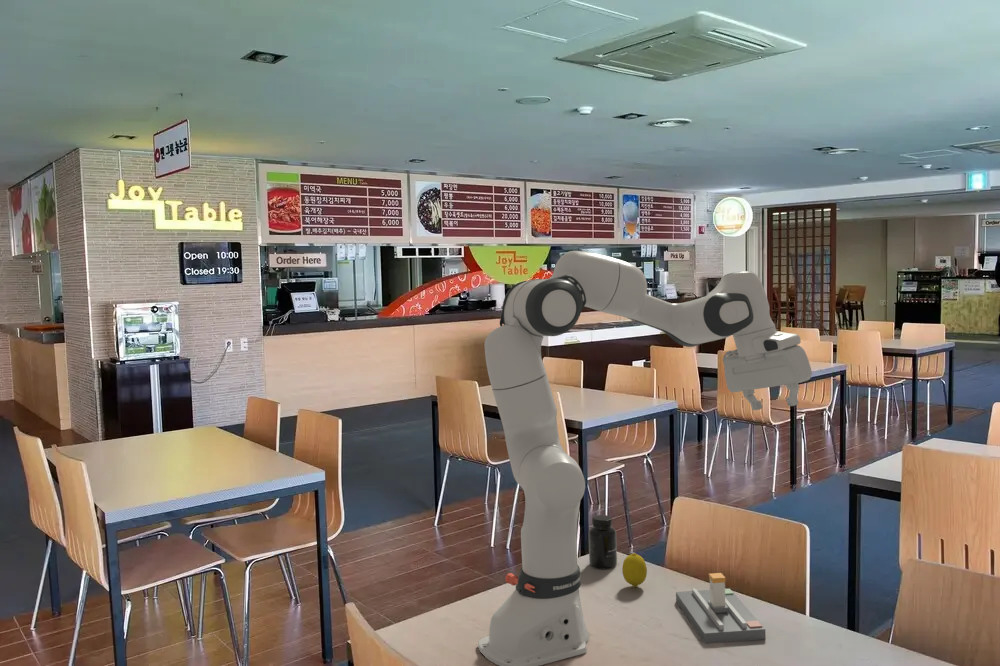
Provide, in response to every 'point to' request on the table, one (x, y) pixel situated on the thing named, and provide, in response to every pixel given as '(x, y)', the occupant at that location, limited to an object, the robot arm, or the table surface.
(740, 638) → the switch panel
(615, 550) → the supplement bottle
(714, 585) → the breaker lever
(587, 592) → the table surface
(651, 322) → the robot arm
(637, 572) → the lemon
